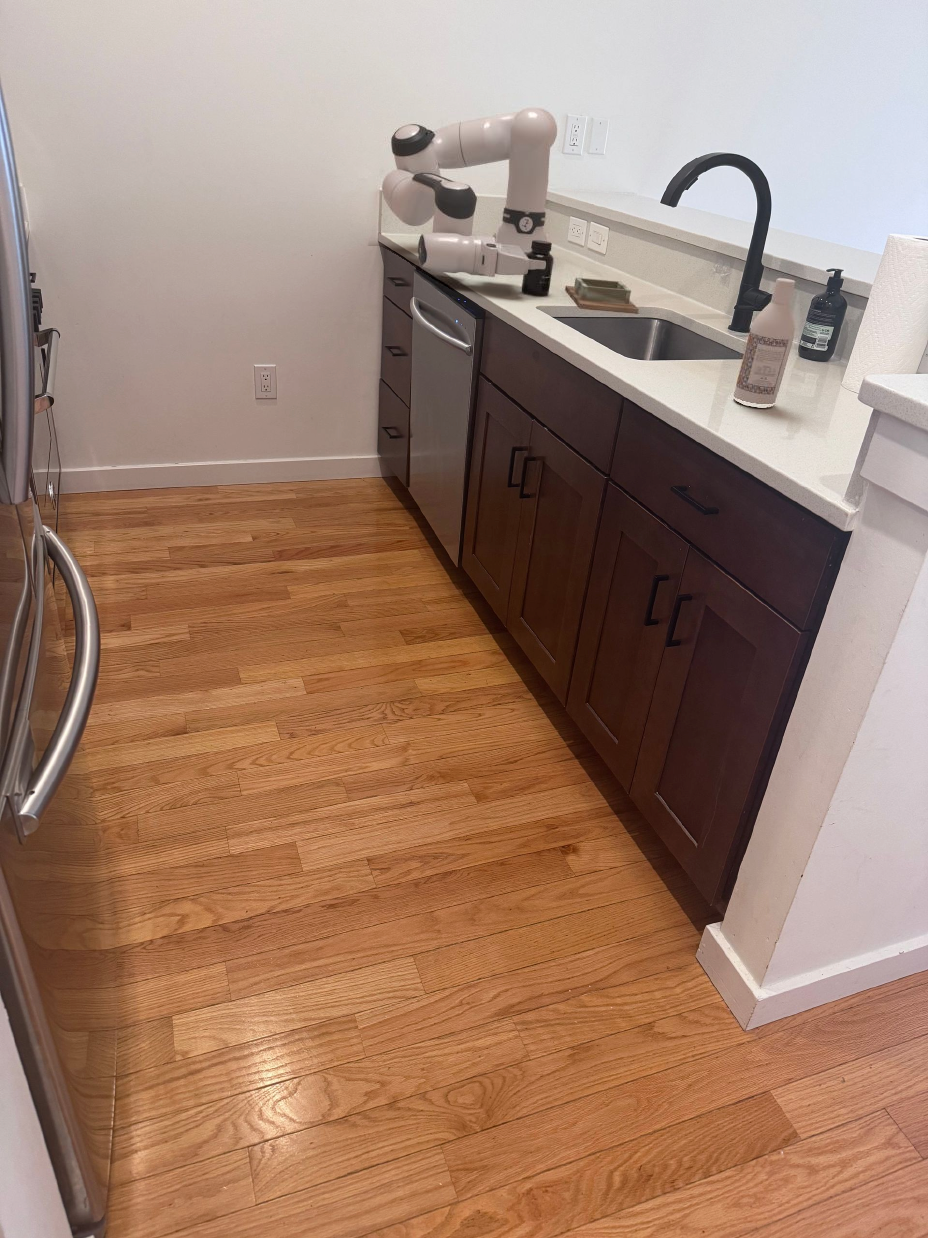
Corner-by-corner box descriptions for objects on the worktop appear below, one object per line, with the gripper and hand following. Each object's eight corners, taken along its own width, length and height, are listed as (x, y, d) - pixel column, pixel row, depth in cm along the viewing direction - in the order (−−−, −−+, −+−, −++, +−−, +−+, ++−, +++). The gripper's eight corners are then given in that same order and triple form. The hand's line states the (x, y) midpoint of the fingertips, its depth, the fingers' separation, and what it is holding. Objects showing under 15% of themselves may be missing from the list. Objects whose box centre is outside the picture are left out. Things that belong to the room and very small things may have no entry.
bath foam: (742, 394, 154) (774, 273, 143) (780, 404, 150) (815, 282, 140) (725, 401, 149) (756, 277, 139) (763, 412, 145) (798, 285, 135)
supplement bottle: (546, 298, 212) (554, 244, 206) (519, 294, 213) (525, 241, 207) (550, 293, 218) (557, 241, 212) (523, 289, 219) (529, 237, 213)
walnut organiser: (564, 289, 224) (567, 273, 222) (618, 294, 226) (621, 278, 224) (579, 308, 206) (582, 290, 204) (638, 313, 207) (641, 295, 205)
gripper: (481, 262, 221) (535, 267, 223) (488, 277, 204) (546, 282, 205) (483, 235, 218) (538, 240, 219) (491, 248, 200) (550, 254, 202)
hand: (542, 261), depth 212 cm, fingers open, 8 cm apart
